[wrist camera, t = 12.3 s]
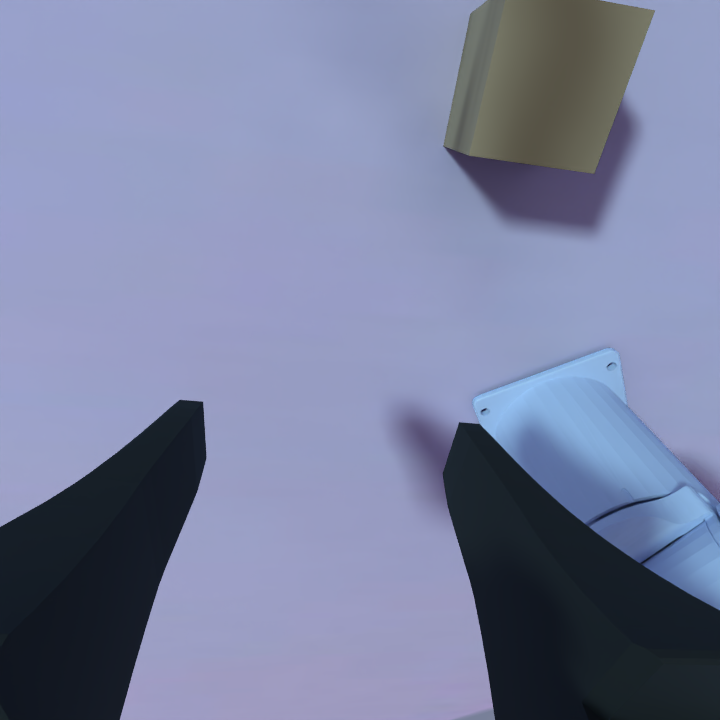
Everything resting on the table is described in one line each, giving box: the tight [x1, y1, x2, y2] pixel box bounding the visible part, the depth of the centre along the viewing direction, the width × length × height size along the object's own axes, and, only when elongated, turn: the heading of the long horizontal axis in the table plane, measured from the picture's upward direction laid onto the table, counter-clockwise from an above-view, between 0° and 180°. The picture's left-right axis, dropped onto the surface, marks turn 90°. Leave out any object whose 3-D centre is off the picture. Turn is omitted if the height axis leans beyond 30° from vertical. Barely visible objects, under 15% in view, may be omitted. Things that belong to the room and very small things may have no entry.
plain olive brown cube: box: [444, 0, 655, 174], centre depth 15 cm, size 5×4×4 cm
